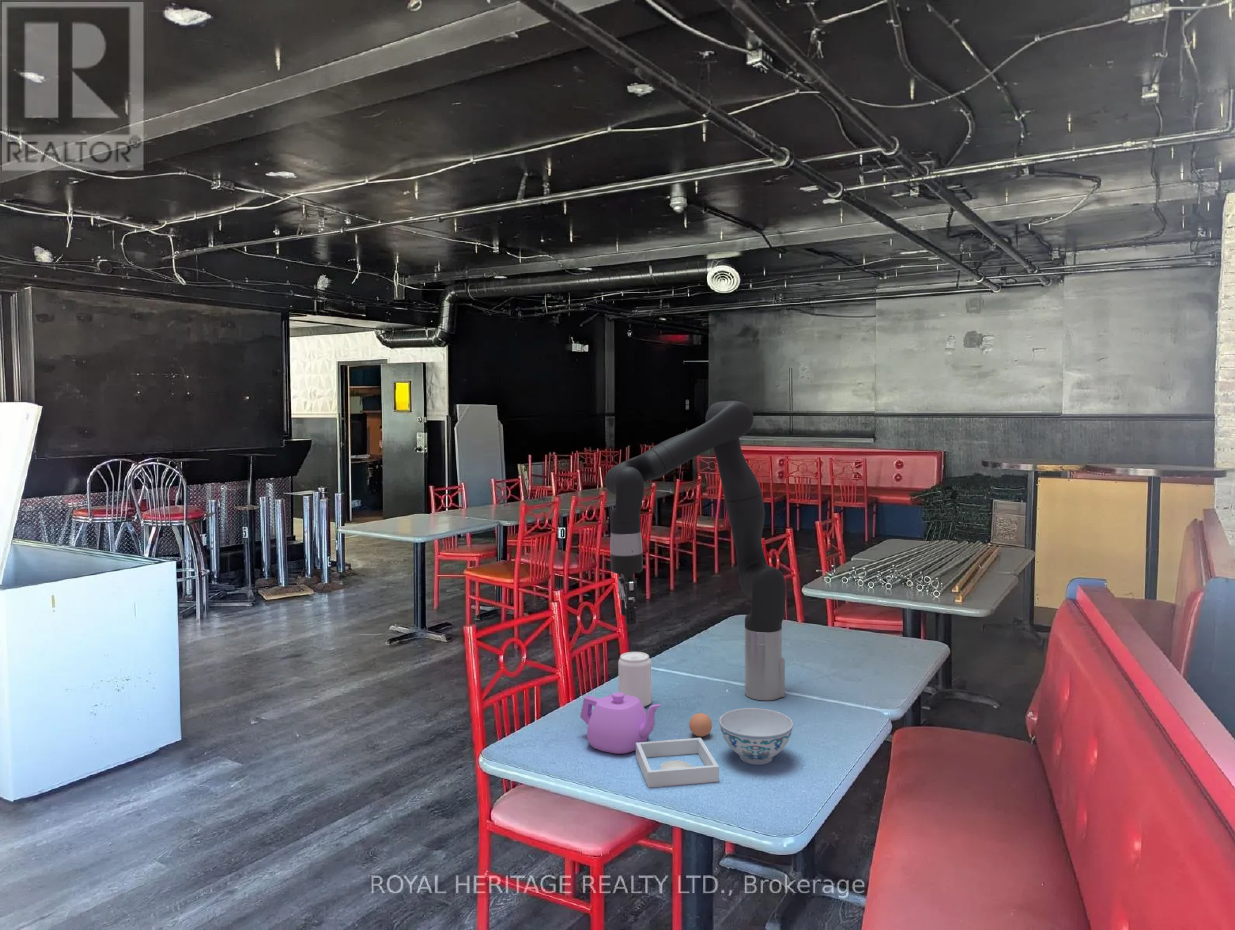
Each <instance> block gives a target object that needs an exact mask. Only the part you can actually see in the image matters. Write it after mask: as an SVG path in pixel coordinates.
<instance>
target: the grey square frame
mask: <svg viewBox="0 0 1235 930" xmlns="http://www.w3.org/2000/svg"><path fill="white" fill-rule="evenodd" d="M695 754H697V755H699V757H700V759H701V760H702V762H703V764H704V765H699V766H697V765H696V766H692V767H685V768H673V769H661V770H660V769H652V768H651V765H650V764H649V762H648V759H647V758H657V757H669V756H671V757H672V756H681V755H695ZM635 758H636V760H637V763H638V765H639V767H640V771H641V773H642V775H643V778H644V780H645V782H646V786H647V788H659V787H662V788H663V787H672V786H683V785H684V786H685V785H695V784H706V783H707V784H708V783H717V782H720V766H719V764H718V763H717V761H716V760H715V758H714V757H713V755H712V753H711V752H710V750H709V749H708V747H707V745H706V744H705V742H704V740H703V739H702V737H693V738H681V739H680V738H679V739H667V740H653V741H645V742H639V743H636V750H635Z"/></svg>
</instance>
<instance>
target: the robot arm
mask: <svg viewBox="0 0 1235 930" xmlns="http://www.w3.org/2000/svg"><path fill="white" fill-rule="evenodd" d="M753 423H754V413H753V411H752V409H751V408H750V406H749V405H747V403H745V402H742V401H738V400H727V401H724V400H723V401H717V402H715V403H712V404H711V405H710V406H709V407H708V408H707V411H706V414H705V422H704V423H703V424H701V425H699V426H696V427H695V428H692V429H690V430H688V431H685V432H683V433H679V434H677V435H676V436H673V437H670V438H668V439H666V440H664V441H662V442H660V443H658V444H656V445H655V446H653V447H651V448H650V449H648V450H646V451H645V452H643V453H642V454H639V455H637V456H634V457H632V458H629V459H627V460H624V461H622V462H620V463H617V464H615V465H614V466H613V467H611V468H610V469H609V470H608V472H607V473H606V475H605V478H604V485H605V487H606V489H607V491H608V492H610V493H611V494H612V495H615V505H614V508H613V509H611V512H610V519H609V521H610V523H609V524H610V525H609V526H610V537H609V539H610V540H609V549H610V555H609V556H610V571H611V572H612V573H613V574H617V575H618V579H617V584H618V589H617V590H618V595H619V599H620V613H621V615H622V616H623V617H624V616H625V623H626V624H627V626H632V625H636V624H637V619H636V618H637V616H636V615H637V612H636V611H637V610H636V609H637V608H638V606H639V604H638V590H637V586H638V583H637V582H638V581H637V580H636V578H635V576H634V574H635V575H636V574H639V573H641V572H642V571H643V569H644V563H643V562H644V561H643V560H644V558H643V555H644V554H643V539H642V538H643V537H642V531H641V525H642V524H641V510H642V506H643V499H644V493H645V483H646V482H647V481H650V480H651V481H652V480H653V481H654V480H657V479H659V478H662V477H663V476H665V475H667V474H669V473H670V472H672V471H674V470H675V469H677V468H679V467H681V466H682V465H684V464H686V463H687V462H689V461H690V460H692V459H694V458H695V457H697V456H699V455H701V454H703V453H705V452H707V451H709V450H711V449H713V452H714V455H715V458H716V459H715V460H716V464H717V468H718V473H719V478H720V483H721V487H722V492H723V496H724V503H725V507H726V512H727V515H728V521H729V524H730V529H731V534H732V539H733V543H734V547H735V548H734V549H735V553H736V563H737V572H738V580H739V586H740V588H741V590H742V592H743V593H744V594H745V595H747V596H748V597H749V598H751V611H750V613H748V614H747V615H746V616H745V618H744V692H745V696H747V697H748V698H750V699H752V700H758V701H774V700H778V699H780V698H785V697H786V694H785V693H786V689H785V688H786V682H785V681H786V677H785V676H786V675H785V672H786V666H785V665H786V662H785V661H786V660H785V658H783V641H782V640H783V635H782V634H783V633H782V631H783V630H782V629H783V628H782V627H783V621H784V619H785V616H786V615H785V614H786V602H787V601H786V597H787V585H786V584H787V583H786V580H785V579H786V578H785V577H784V575H783V572H782V571H781V570H779V569H778V568H776V567H774V566H771V565H768V562H767V558H766V556H765V551H764V547H763V537H762V536H763V530H764V525H765V516H766V511H765V504H764V499H763V495H762V490H761V486H760V483H759V482H758V479H757V477H756V476H755V474H754V471H753V470H752V468H751V467H750V465H749V464H748V462H747V460H746V458H745V456H744V453H743V450H742V447H741V446H742V445H741V440H740V438H742V437H744V436H745V435H746V434H748V433H749V432H750V430H751V429H752V427H753ZM631 600H632V602H631Z"/></svg>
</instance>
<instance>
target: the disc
mask: <svg viewBox="0 0 1235 930" xmlns="http://www.w3.org/2000/svg"><path fill="white" fill-rule="evenodd" d="M685 767H693V766H692V765H691V763H689V762H687V761H685V760H678V759H676V760H675V759H674V760H667V761H664V762H662V763H660V766H659V770H661V769H673V768H685Z"/></svg>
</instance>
